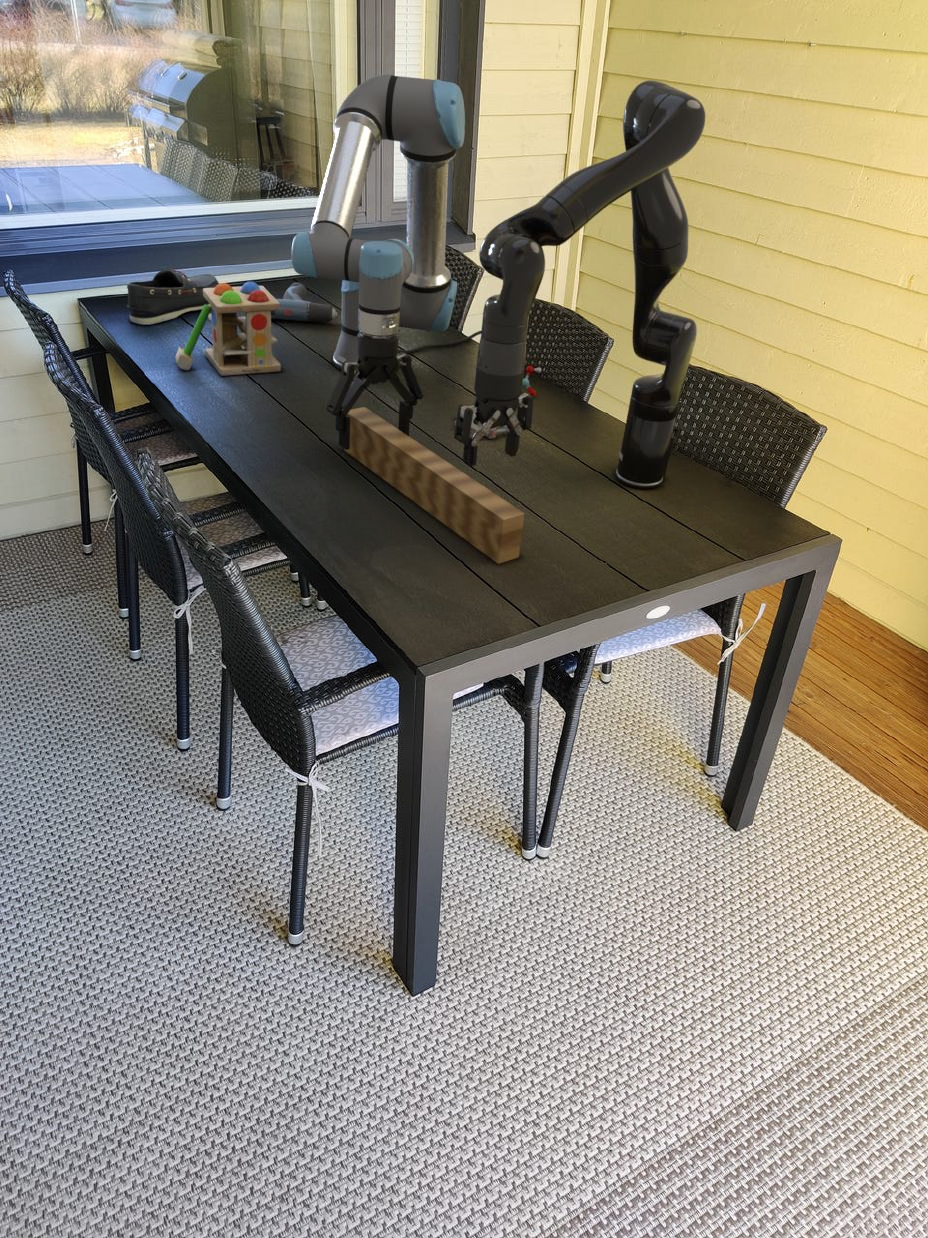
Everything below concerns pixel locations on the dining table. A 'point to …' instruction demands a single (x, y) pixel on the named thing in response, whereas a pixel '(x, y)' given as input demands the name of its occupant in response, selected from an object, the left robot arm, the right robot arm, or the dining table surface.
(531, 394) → the molecular model
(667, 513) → the dining table surface
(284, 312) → the power drill
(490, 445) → the dining table surface
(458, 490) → the bar
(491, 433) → the clamp
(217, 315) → the pounding bench toy
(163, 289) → the boat shoe
